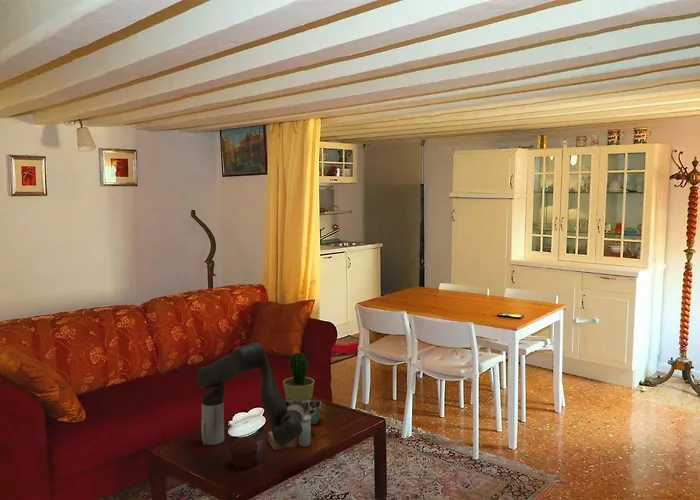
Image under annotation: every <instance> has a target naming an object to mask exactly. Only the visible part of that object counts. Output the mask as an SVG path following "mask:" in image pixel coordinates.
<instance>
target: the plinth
mask: <svg viewBox="0 0 700 500" xmlns="http://www.w3.org/2000/svg"><path fill="white" fill-rule="evenodd" d="M297 438H298V437H297ZM297 438H295V439H294V440H293V441H291V442H290V443H288V444H287V445H285V446H280V445H278V444H277V443H276V442H275V440H274V438H273V434H272V430H271V431H270V430H269V431H267V442H268V443H269V445H270V446H271V448H272V450H273V451H276V450H277V451H278V450H282V449H283V450H284V449H290V448H295V447H297V446H298V445H297V444H298V443H297V441H298V440H297Z"/></svg>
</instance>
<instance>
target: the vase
mask: <svg viewBox="0 0 700 500" xmlns="http://www.w3.org/2000/svg"><path fill="white" fill-rule="evenodd" d="M301 425H302V428H303V432H302V433H301V435H300V436H298V438H299V446H300V447H310V446H311V444H312V443H311V441H312V439H311V438H312V436H311V434H312V433H311V432H312V430H311V428H312V427H311V426H312V424H311V416H310V415H305V418H304V420H303V422H302V423H301Z"/></svg>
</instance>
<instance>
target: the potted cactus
mask: <svg viewBox="0 0 700 500" xmlns="http://www.w3.org/2000/svg"><path fill="white" fill-rule="evenodd" d="M308 363H309V362H308V361H307V358H306V356H305V355H304V353H303V352H294V353H293V355H292V354H291V357H290V359H289V370H290V372H291V373H290V374H291V375H292V377H288V378H286V379H284V380H283V382H282V383H283V384H282V385H283V390H284V396H285V401H286V400H287V399H289V398H291V400H292V401H299V402H303V401H310V398H312V399H313V396H314V395H313V394H314V393H313V392H314V386H315V379H313V378H312V377H308V376H306V375H307V374H308V372H307V370H308V369H309V364H308Z"/></svg>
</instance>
